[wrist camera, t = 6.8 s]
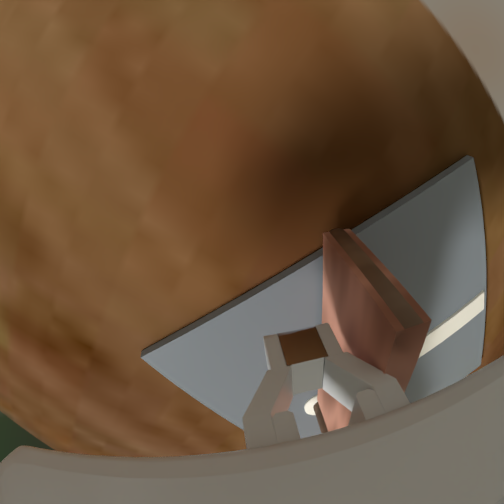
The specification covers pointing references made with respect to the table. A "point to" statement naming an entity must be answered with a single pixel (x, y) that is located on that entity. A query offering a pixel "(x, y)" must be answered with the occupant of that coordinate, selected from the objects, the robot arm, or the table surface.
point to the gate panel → (367, 315)
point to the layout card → (310, 304)
